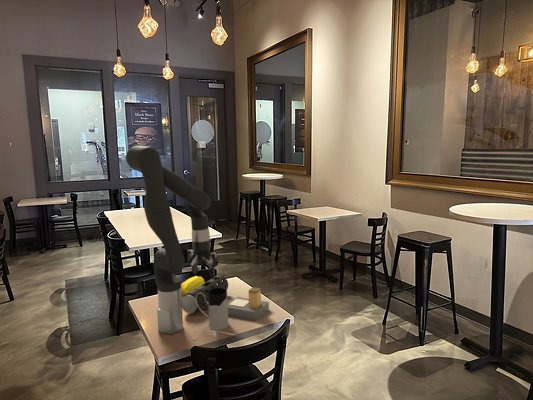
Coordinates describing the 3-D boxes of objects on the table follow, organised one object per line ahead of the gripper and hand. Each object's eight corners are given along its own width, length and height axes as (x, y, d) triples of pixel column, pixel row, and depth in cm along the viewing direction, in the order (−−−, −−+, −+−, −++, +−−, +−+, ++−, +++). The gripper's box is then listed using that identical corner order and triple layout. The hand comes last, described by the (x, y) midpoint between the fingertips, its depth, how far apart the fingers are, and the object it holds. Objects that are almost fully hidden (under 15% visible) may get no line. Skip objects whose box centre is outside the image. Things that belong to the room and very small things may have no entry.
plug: (257, 315, 165) (256, 291, 164) (249, 314, 167) (248, 290, 165) (261, 312, 169) (260, 288, 167) (252, 310, 170) (252, 287, 169)
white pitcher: (225, 331, 152) (224, 296, 150) (192, 328, 156) (190, 293, 154) (232, 322, 161) (231, 288, 159) (200, 319, 164) (199, 285, 162)
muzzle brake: (229, 295, 190) (228, 275, 189) (198, 318, 165) (197, 295, 163) (212, 293, 194) (212, 273, 192) (179, 315, 168) (178, 292, 167)
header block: (257, 321, 161) (257, 312, 160) (224, 315, 167) (224, 306, 167) (268, 310, 172) (268, 301, 171) (237, 305, 178) (237, 296, 178)
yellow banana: (175, 296, 190) (188, 298, 187) (174, 283, 189) (187, 285, 186) (196, 284, 206) (208, 286, 203) (195, 272, 205) (207, 274, 202)
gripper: (181, 239, 162) (184, 275, 165) (210, 242, 156) (213, 279, 159) (191, 234, 169) (194, 269, 172) (219, 237, 163) (222, 273, 166)
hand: (203, 274), depth 166 cm, fingers open, 8 cm apart
